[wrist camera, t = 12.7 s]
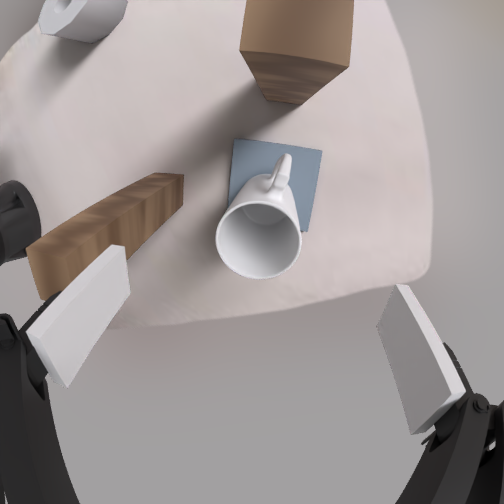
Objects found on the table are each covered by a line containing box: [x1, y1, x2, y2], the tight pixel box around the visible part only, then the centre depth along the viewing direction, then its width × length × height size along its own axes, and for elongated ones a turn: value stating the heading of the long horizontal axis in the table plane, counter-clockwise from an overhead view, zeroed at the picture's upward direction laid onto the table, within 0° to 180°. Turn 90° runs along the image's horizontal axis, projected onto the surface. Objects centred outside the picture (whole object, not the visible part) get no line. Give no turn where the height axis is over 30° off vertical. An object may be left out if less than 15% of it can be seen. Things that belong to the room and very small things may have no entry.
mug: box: [215, 153, 302, 280], centre depth 26 cm, size 10×7×12 cm, turn 160°
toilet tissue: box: [38, 0, 128, 43], centre depth 17 cm, size 9×13×9 cm
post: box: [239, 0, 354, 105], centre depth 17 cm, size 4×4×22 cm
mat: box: [228, 139, 322, 232], centre depth 32 cm, size 10×10×1 cm
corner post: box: [26, 173, 184, 301], centre depth 23 cm, size 4×4×22 cm
